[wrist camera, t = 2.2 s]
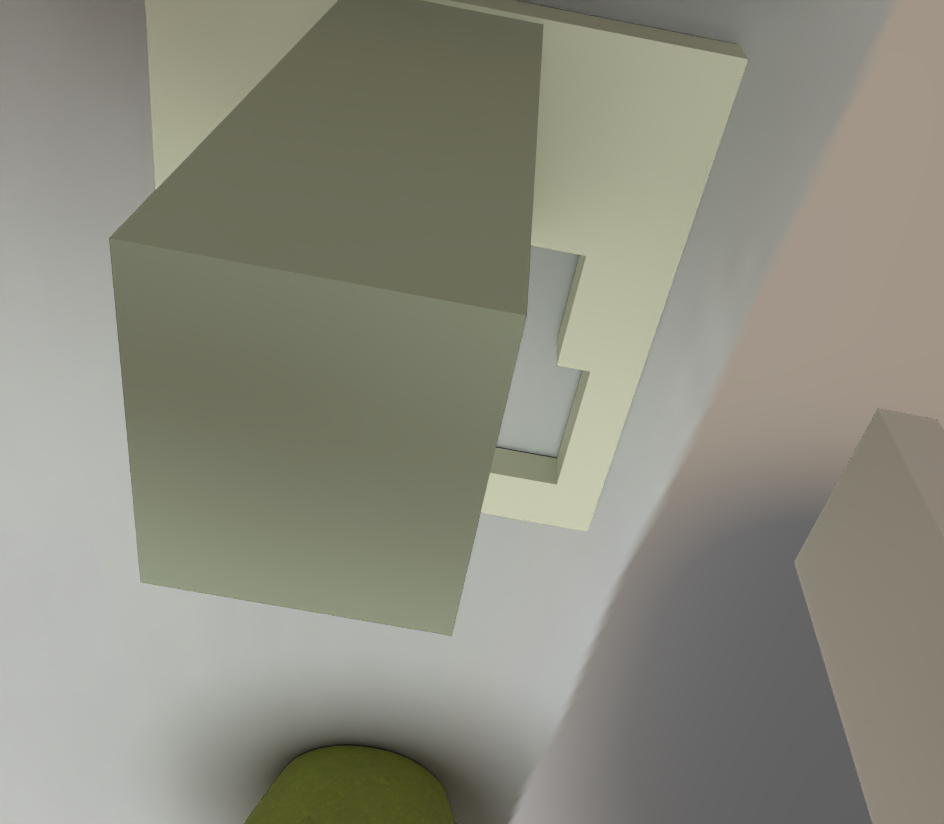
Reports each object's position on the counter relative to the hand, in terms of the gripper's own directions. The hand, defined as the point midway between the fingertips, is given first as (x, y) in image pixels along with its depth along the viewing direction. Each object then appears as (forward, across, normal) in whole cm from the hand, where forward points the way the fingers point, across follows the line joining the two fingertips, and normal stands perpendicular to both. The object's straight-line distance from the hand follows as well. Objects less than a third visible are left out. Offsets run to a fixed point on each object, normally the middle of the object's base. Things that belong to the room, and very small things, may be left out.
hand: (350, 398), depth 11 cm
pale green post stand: (+12, 0, -4) cm, 12 cm away
